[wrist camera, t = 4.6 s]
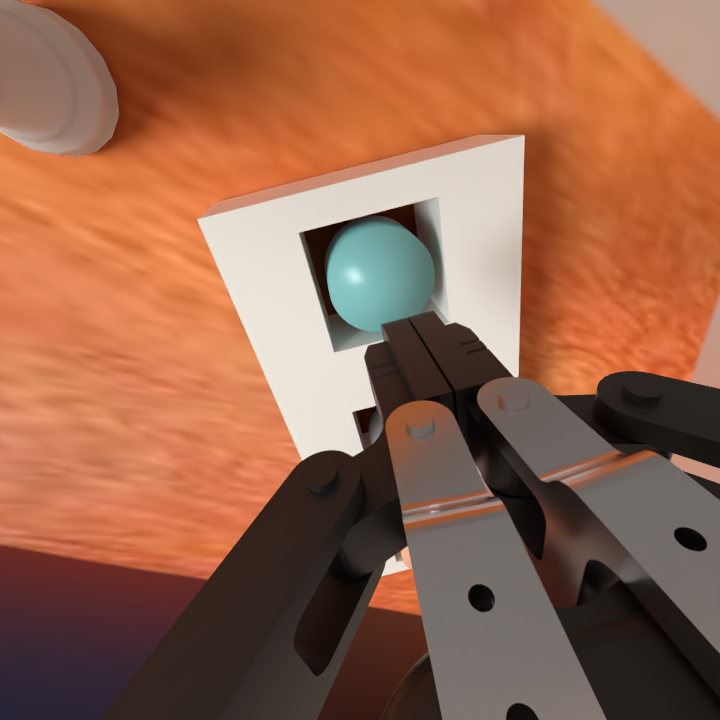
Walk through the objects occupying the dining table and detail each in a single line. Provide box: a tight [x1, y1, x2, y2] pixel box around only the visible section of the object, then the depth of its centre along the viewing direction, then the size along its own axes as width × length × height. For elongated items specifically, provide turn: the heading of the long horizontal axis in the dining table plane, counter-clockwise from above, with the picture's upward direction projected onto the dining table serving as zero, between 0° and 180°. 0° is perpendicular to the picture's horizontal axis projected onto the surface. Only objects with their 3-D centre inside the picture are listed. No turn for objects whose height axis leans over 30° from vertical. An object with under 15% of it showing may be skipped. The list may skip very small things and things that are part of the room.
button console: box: [197, 135, 525, 576], centre depth 22 cm, size 12×26×4 cm, turn 12°
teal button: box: [325, 215, 435, 332], centre depth 16 cm, size 4×4×2 cm
